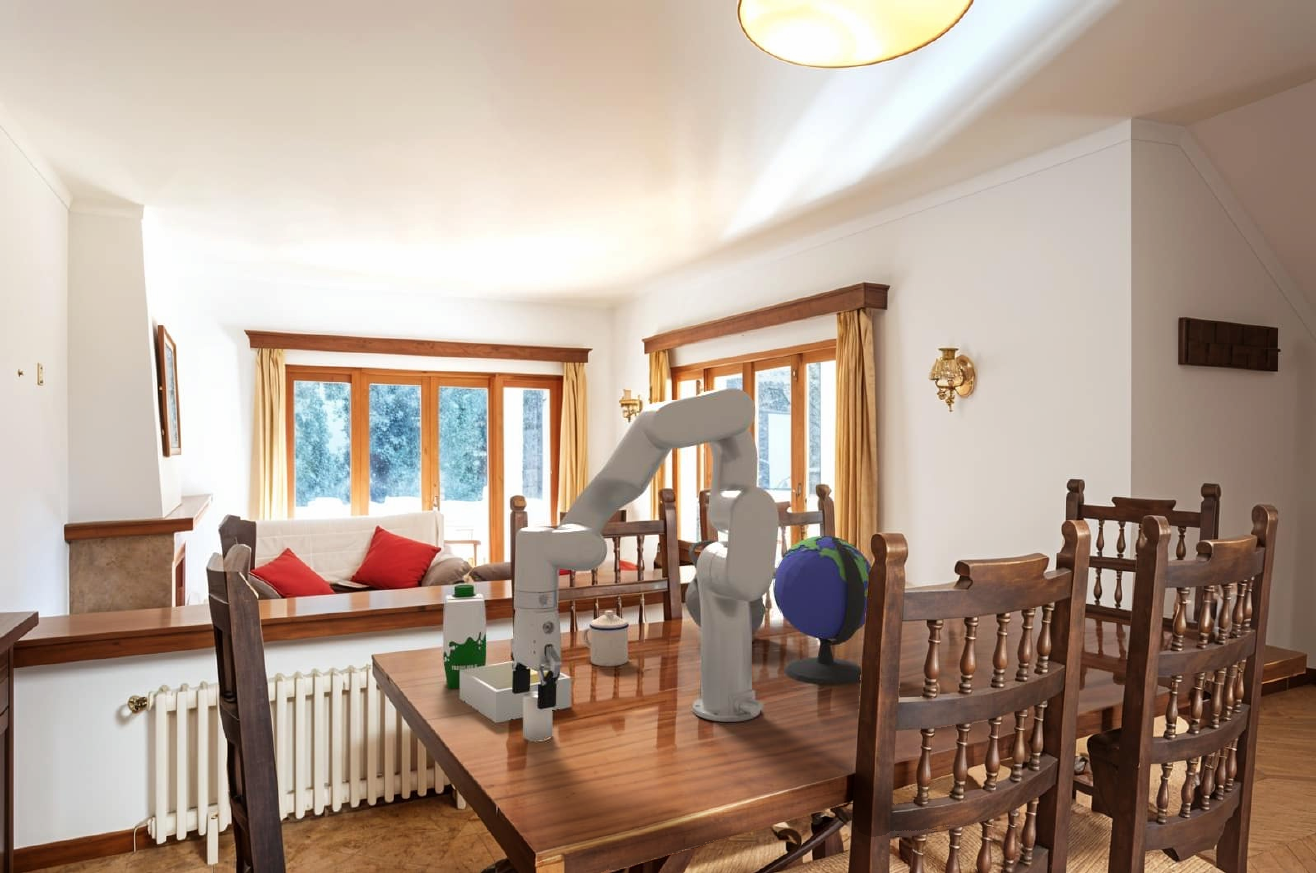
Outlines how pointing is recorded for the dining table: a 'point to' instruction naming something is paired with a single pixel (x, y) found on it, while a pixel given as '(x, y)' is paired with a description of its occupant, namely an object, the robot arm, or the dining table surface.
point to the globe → (823, 603)
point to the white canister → (536, 719)
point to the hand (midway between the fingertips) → (533, 699)
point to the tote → (503, 691)
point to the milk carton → (463, 633)
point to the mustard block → (535, 676)
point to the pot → (694, 598)
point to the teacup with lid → (608, 640)
